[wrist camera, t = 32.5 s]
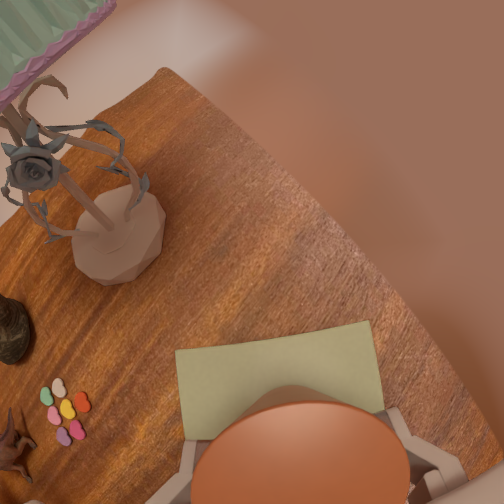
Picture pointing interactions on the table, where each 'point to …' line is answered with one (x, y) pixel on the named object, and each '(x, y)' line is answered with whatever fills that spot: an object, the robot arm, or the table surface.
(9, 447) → the dinosaur figurine
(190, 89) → the table surface
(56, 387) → the candy hearts
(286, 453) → the tea tin
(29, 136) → the table lamp
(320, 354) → the lid
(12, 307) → the seashell
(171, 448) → the table surface
